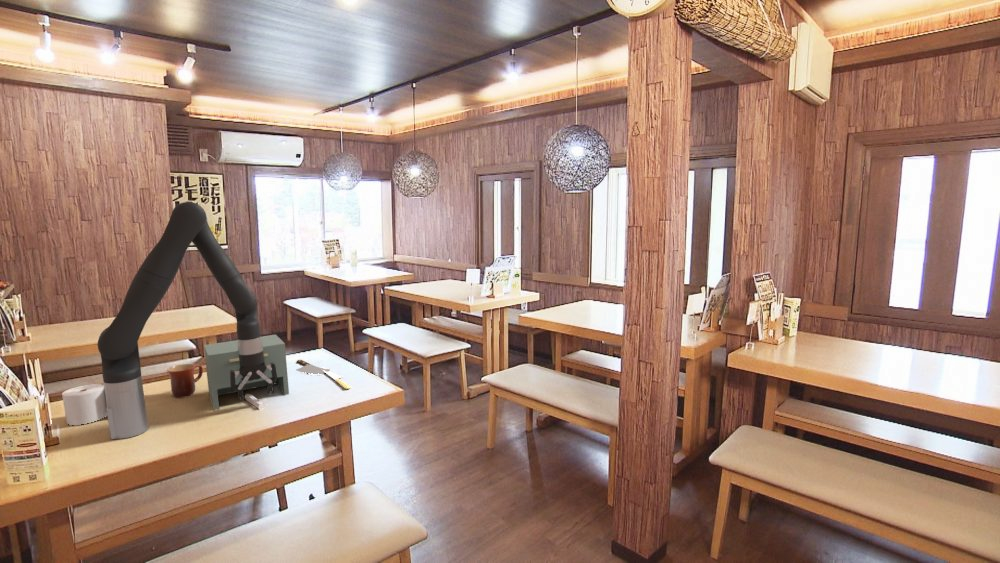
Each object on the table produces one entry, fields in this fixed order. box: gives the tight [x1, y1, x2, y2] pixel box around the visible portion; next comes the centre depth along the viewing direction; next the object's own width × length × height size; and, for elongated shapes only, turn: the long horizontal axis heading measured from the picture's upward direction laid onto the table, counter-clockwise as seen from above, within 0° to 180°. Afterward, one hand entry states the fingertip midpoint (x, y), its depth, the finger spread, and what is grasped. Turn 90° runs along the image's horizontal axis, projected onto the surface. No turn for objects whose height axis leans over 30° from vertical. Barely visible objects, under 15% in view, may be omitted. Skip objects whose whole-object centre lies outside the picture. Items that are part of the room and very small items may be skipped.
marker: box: [243, 393, 266, 410], centre depth 178 cm, size 3×2×16 cm
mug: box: [166, 363, 204, 398], centre depth 187 cm, size 12×9×10 cm
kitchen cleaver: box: [295, 359, 331, 375], centre depth 214 cm, size 24×1×10 cm
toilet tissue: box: [61, 383, 108, 426], centre depth 166 cm, size 11×12×10 cm
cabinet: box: [203, 333, 290, 411], centre depth 183 cm, size 24×16×19 cm
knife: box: [321, 366, 352, 390], centre depth 202 cm, size 1×34×5 cm
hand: (256, 396), depth 174 cm, fingers open, 8 cm apart
